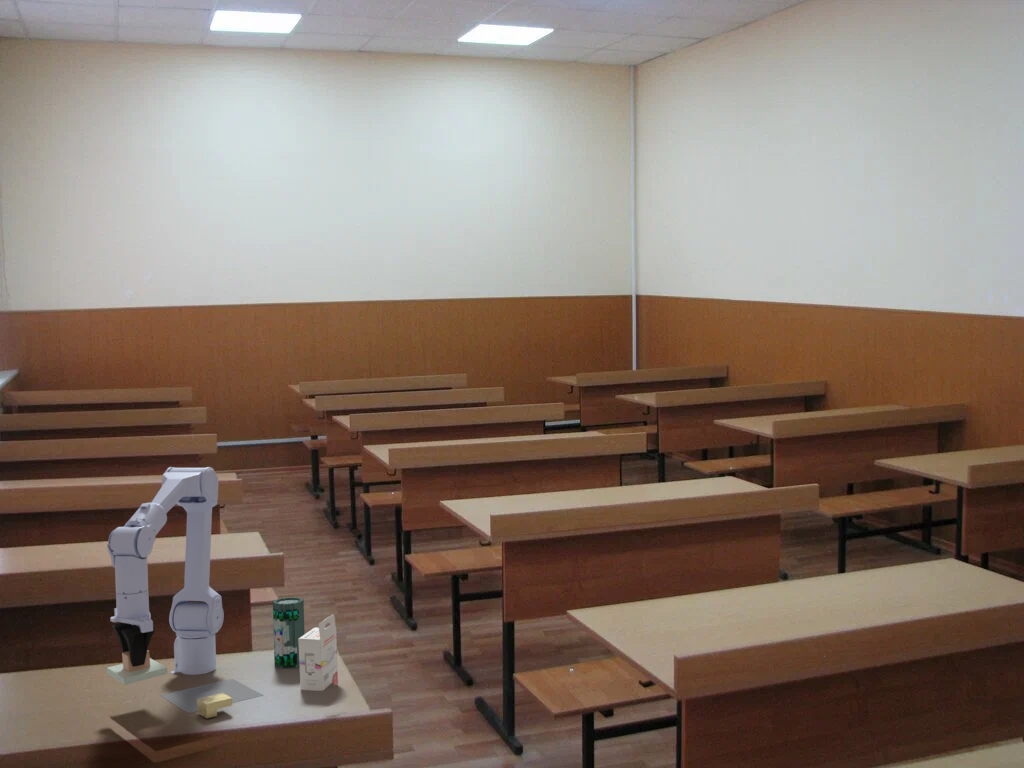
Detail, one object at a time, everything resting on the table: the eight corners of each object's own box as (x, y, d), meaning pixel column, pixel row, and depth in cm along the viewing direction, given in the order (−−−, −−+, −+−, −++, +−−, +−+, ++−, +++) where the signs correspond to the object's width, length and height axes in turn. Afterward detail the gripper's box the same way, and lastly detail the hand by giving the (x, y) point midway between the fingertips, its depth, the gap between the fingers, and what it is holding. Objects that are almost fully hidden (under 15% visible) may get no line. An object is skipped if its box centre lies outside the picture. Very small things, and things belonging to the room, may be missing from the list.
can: (269, 672, 227) (267, 601, 226) (291, 664, 232) (289, 596, 231) (288, 677, 223) (286, 605, 223) (310, 669, 228) (308, 599, 228)
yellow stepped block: (197, 712, 197) (197, 698, 197) (223, 706, 200) (222, 692, 200) (206, 718, 194) (206, 704, 194) (232, 711, 197) (232, 697, 197)
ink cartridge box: (315, 683, 219) (313, 612, 218) (338, 684, 218) (336, 612, 217) (299, 697, 210) (296, 623, 210) (322, 698, 209) (320, 623, 209)
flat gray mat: (160, 702, 209) (159, 695, 209) (232, 685, 218) (232, 678, 218) (188, 721, 198) (188, 713, 198) (263, 702, 207) (263, 695, 207)
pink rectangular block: (107, 673, 202) (105, 652, 201) (149, 663, 207) (147, 642, 206) (124, 685, 195) (122, 662, 194) (167, 673, 200) (165, 651, 200)
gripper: (97, 588, 203) (99, 659, 203) (124, 601, 192) (127, 676, 192) (134, 582, 207) (136, 651, 208) (163, 594, 196) (165, 668, 197)
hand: (134, 663), depth 200 cm, fingers closed on pink rectangular block, 3 cm apart
